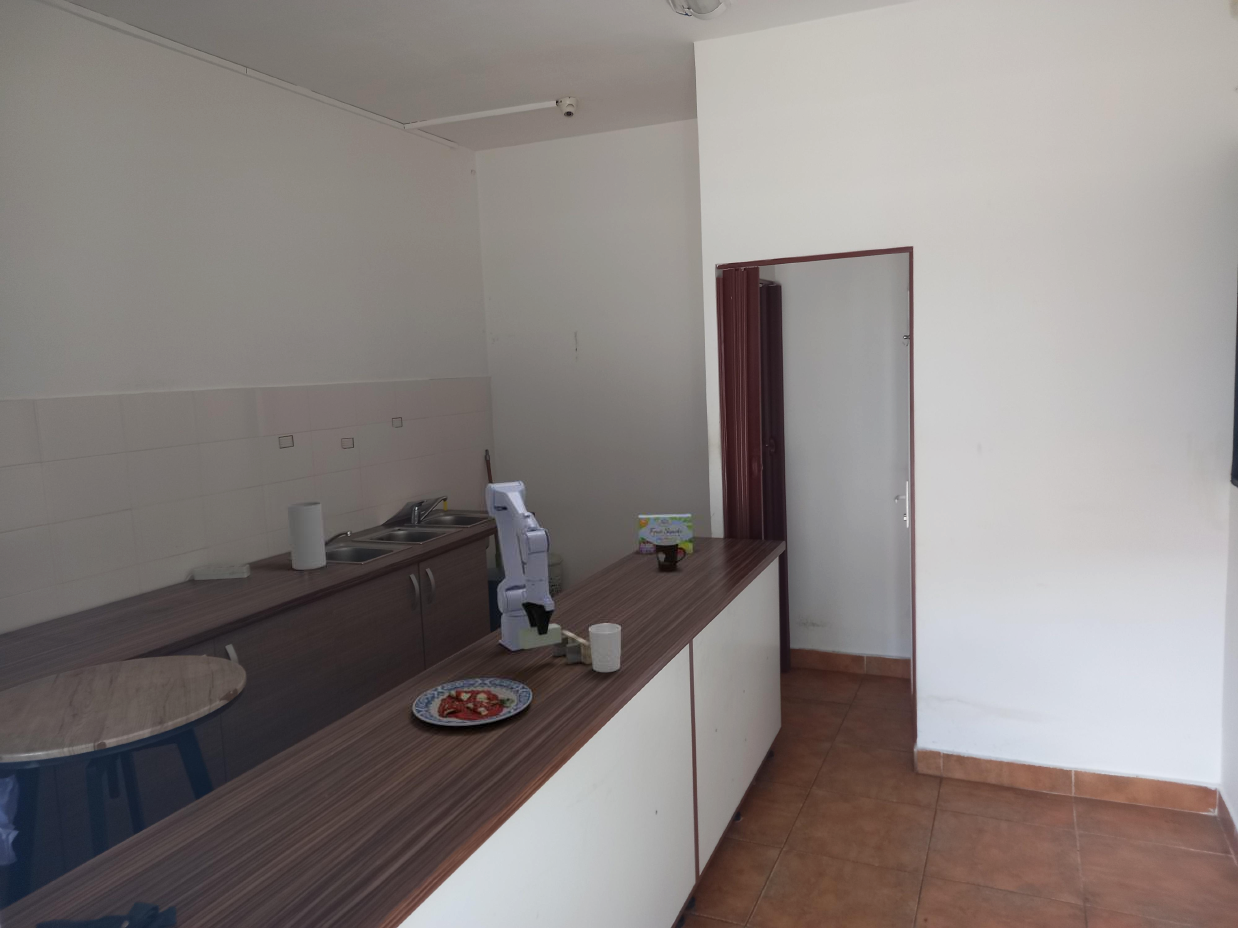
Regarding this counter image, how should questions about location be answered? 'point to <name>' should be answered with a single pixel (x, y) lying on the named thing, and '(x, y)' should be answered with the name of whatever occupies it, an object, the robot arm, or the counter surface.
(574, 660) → the wooden base
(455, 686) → the ceramic plate
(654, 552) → the snack box
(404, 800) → the counter surface
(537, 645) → the block
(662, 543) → the coffee mug
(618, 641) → the white cup
